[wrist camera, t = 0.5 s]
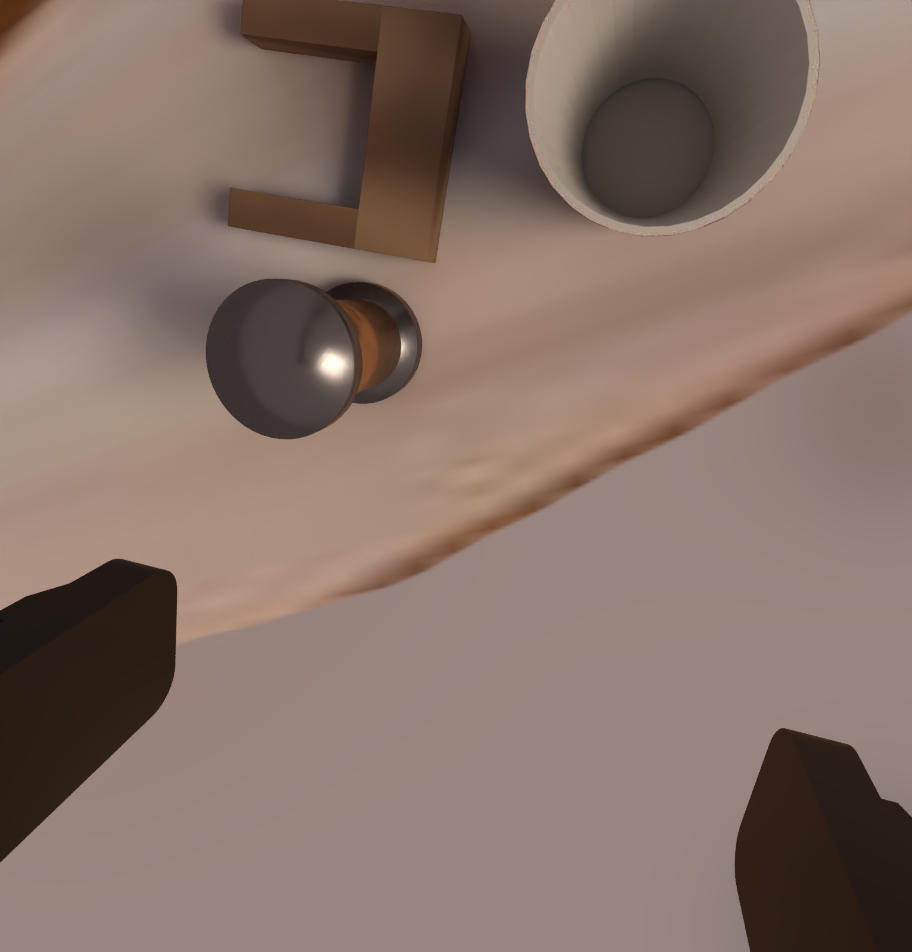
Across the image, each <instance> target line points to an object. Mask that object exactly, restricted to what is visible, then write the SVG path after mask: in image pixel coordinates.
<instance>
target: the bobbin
mask: <svg viewBox="0 0 912 952" xmlns="http://www.w3.org/2000/svg"><path fill="white" fill-rule="evenodd" d="M421 352H422V337H421V331H420V327H419V324H418V321H417V319H416V317H415V315H414V313H413V311H412V310H411V308H410V307H409V306H408V304H407V303H406V302H405V301H404V300H403V299H402V298H401V297H400V296H399V295H397V294H396V293H395V292H393V291H392V290H390V289H388V288H386V287H383V286H381V285H377V284H373V283H361V282H357V283H347V284H343V285H340V286H337V287H335V288H333V289H331V290H329V291H328V292H327V293H326V292H324V291H323V290H321V289H319V288H317V287H316V286H313V285H311V284H308V283H305V282H301V281H298V280H289V279H264V280H258V281H254V282H251V283H249V284H246V285H244V286H242V287H240V288H239V289H237V290H236V291H234V292H233V293H232V294H230V295H229V296H228V297H227V298H226V299H225V300H224V302H223V303H222V304H221V306H220V307H219V308H218V310H217V312H216V313H215V315H214V317H213V319H212V322H211V324H210V327H209V331H208V335H207V342H206V361H207V368H208V373H209V377H210V380H211V383H212V385H213V388H214V390H215V392H216V394H217V396H218V398H219V399H220V401H221V402H222V404H223V405H224V406H225V408H226V409H227V410H228V411H229V413H230V414H231V415H232V416H233V417H234V418H235V419H236V420H238V421H239V422H240V423H242V424H243V425H244V426H246V427H247V428H249V429H251V430H252V431H254V432H257V433H259V434H261V435H264V436H268V437H271V438H277V439H296V438H301V437H305V436H308V435H311V434H313V433H315V432H318V431H320V430H322V429H324V428H326V427H328V426H329V425H331V424H333V423H334V422H335V421H337V420H338V419H339V418H340V417H341V416H342V415H343V414H344V413H345V412H346V411H347V410H348V408H349V407H350V405H351V404H352V403H359V404H367V403H374V402H378V401H381V400H383V399H386V398H388V397H390V396H392V395H394V394H395V393H397V392H399V391H400V390H401V389H402V388H404V387H405V386H406V385H407V384H408V382H409V381H410V380H411V379H412V377H413V376H414V374H415V372H416V370H417V368H418V365H419V362H420V358H421Z"/></svg>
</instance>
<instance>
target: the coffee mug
mask: <svg viewBox="0 0 912 952" xmlns="http://www.w3.org/2000/svg"><path fill="white" fill-rule="evenodd" d="M819 66H820V55H819V41H818V29H817V26H816V22H815V19H814V15H813V12H812V8H811V5H810V1H809V0H555V2H554V4H553V5H552V7H551V9H550V10H549V12H548V14H547V16H546V17H545V19H544V21H543V23H542V25H541V28H540V31H539V33H538V36H537V38H536V41H535V44H534V46H533V49H532V52H531V57H530V62H529V67H528V72H527V77H526V94H525V113H526V119H527V125H528V132H529V138H530V141H531V144H532V147H533V149H534V152H535V155H536V158H537V160H538V163H539V165H540V167H541V169H542V170H543V172H544V174H545V175H546V177H547V179H548V180H549V182H550V184H551V185H552V187H553V188H554V189H555V190H556V191H557V192H558V193H559V195H560V196H561V197H562V198H563V199H564V200H565V201H566V202H567V203H568V204H569V205H570V206H571V207H572V208H574V209H575V210H576V211H578V212H579V213H581V214H582V215H584V216H585V217H586V218H588V219H589V220H591V221H592V222H595V223H597V224H600V225H602V226H604V227H607V228H609V229H612V230H614V231H617V232H622V233H628V234H633V235H638V236H670V235H674V234H679V233H683V232H688V231H693V230H697V229H699V228H702V227H704V226H706V225H709V224H711V223H713V222H716V221H718V220H721V219H723V218H725V217H726V216H728V215H729V214H731V213H732V212H734V211H735V210H737V209H738V208H740V207H741V206H743V205H745V204H746V203H748V202H749V201H750V200H751V199H752V198H753V197H754V196H755V195H757V194H758V193H759V192H760V191H761V190H762V189H763V188H764V187H765V186H766V185H767V184H768V183H769V182H770V181H772V179H773V178H774V177H775V175H776V174H777V173H778V171H779V170H780V169H781V167H782V166H783V165H784V163H785V162H786V161H787V160H788V158H789V157H790V156H791V154H792V152H793V150H794V148H795V146H796V144H797V143H798V141H799V139H800V137H801V135H802V133H803V131H804V129H805V127H806V125H807V122H808V118H809V115H810V112H811V109H812V106H813V103H814V99H815V96H816V91H817V83H818V74H819Z"/></svg>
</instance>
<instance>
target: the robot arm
mask: <svg viewBox="0 0 912 952" xmlns="http://www.w3.org/2000/svg"><path fill="white" fill-rule="evenodd" d="M176 616H177V583H176V579H175V577H174V575H173V574H172V573H171V572H170V571H167V570H163V569H159V568H155V567H151V566H147V565H143V564H139V563H135V562H131V561H128V560H124V559H113V560H111V561H108V562H107V563H105V564H103V565H101V566H100V567H98V568H96V569H94V570H93V571H91V572H89V573H87V574H86V575H84V576H82V577H80V578H78V579H77V580H75V581H73V582H71V583H69V584H66V585H63V586H59V587H56V588H53V589H49V590H46V591H43V592H39V593H36V594H33V595H30V596H26V597H24V598H22V599H21V600H19V601H17V602H15V603H13V604H11V605H10V606H8V607H6V608H4V609H2V610H0V862H1V861H2V860H3V859H4V858H5V857H6V856H7V855H8V854H9V853H10V852H11V851H13V849H15V848H16V847H17V846H18V845H19V844H20V843H21V842H22V841H23V840H24V839H25V838H26V837H27V836H28V835H29V834H30V833H31V832H32V831H33V830H34V829H35V828H36V827H37V826H38V825H40V824H41V823H42V822H43V821H44V820H45V819H46V818H47V817H48V816H49V815H50V814H51V813H52V812H53V811H54V810H55V809H56V808H57V807H58V806H59V805H60V804H61V803H62V802H64V800H66V798H68V797H69V796H70V795H71V794H72V793H73V792H74V791H75V790H76V789H77V788H78V787H79V786H80V785H81V784H82V783H83V782H84V781H85V780H86V779H87V778H88V777H90V776H91V774H93V773H94V772H95V771H96V770H97V769H98V768H99V767H100V766H101V765H102V764H103V763H104V762H105V761H106V760H107V759H108V758H109V757H110V756H111V755H112V754H113V753H114V752H115V751H116V750H118V749H119V748H120V747H121V746H122V745H123V744H124V743H125V742H126V741H127V740H128V739H129V738H130V737H131V736H132V735H133V734H134V733H135V732H136V731H137V730H138V729H139V728H140V727H141V726H143V725H144V724H145V723H146V722H147V721H148V720H149V719H150V718H151V717H152V716H153V715H154V714H155V713H156V712H157V710H158V709H159V708H160V706H161V705H162V703H163V702H164V700H165V698H166V696H167V694H168V692H169V690H170V687H171V684H172V681H173V677H174V672H175V654H176V652H175V651H176ZM735 878H736V885H737V891H738V895H739V900H740V905H741V909H742V915H743V919H744V924H745V929H746V933H747V938H748V943H749V947H750V952H912V817H911V816H910V815H909V814H908V813H907V812H906V811H905V810H904V809H903V808H902V807H901V806H900V805H899V804H898V803H896V802H892V801H888V800H884V799H881V798H880V796H879V794H878V792H877V790H876V788H875V786H874V784H873V782H872V780H871V779H870V777H869V775H868V773H867V771H866V769H865V767H864V765H863V763H862V761H861V760H860V758H859V756H858V754H857V752H856V751H855V749H854V748H853V747H852V746H850V745H848V744H845V743H841V742H836V741H832V740H829V739H825V738H820V737H817V736H813V735H809V734H805V733H801V732H797V731H793V730H789V729H785V728H781V729H779V730H778V731H777V732H776V733H775V734H774V736H773V737H772V739H771V742H770V744H769V747H768V750H767V752H766V755H765V758H764V761H763V764H762V766H761V769H760V772H759V775H758V777H757V780H756V783H755V786H754V789H753V791H752V794H751V797H750V800H749V803H748V805H747V808H746V811H745V814H744V817H743V820H742V822H741V825H740V828H739V832H738V837H737V842H736V851H735Z"/></svg>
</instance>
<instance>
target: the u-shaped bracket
mask: <svg viewBox="0 0 912 952" xmlns="http://www.w3.org/2000/svg"><path fill="white" fill-rule="evenodd" d="M470 33H471V32H470V30H469V28H468V26H467V24H466V22H465V20H464V18H463V16H462V15H457V14H448V13H440V12H431V11H423V10H415V9H406V8H398V7H389V6H381V5H373V4H364V3H356V2H347V1H339V0H243V7H242V22H241V34H242V35H243V36H244V37H246V38H247V39H249V40H250V41H251V42H253V43H254V44H256V45H257V46H258V47H260V48H261V49H266V50H273V51H281V52H288V53H296V54H303V55H311V56H319V57H326V58H334V59H341V60H349V61H356V62H364V63H371V64H376V68H375V76H374V85H373V93H372V101H371V110H370V118H369V127H368V135H367V143H366V152H365V160H364V169H363V177H362V186H361V194H360V202H359V209H354V208H348V207H342V206H336V205H330V204H324V203H318V202H313V201H307V200H301V199H295V198H289V197H283V196H277V195H271V194H265V193H259V192H253V191H247V190H241V189H235V188H230V202H229V218H228V226H230V227H236V228H241V229H247V230H252V231H258V232H264V233H269V234H275V235H281V236H286V237H292V238H298V239H303V240H309V241H314V242H320V243H326V244H331V245H337V246H343V247H348V248H354V249H360V250H365V251H371V252H376V253H382V254H388V255H393V256H399V257H405V258H410V259H416V260H422V261H427V262H433V263H435V262H436V255H437V249H438V242H439V236H440V229H441V222H442V216H443V209H444V203H445V196H446V190H447V183H448V177H449V170H450V164H451V157H452V151H453V144H454V138H455V131H456V125H457V118H458V111H459V105H460V98H461V92H462V85H463V79H464V72H465V66H466V59H467V53H468V46H469V40H470Z"/></svg>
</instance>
